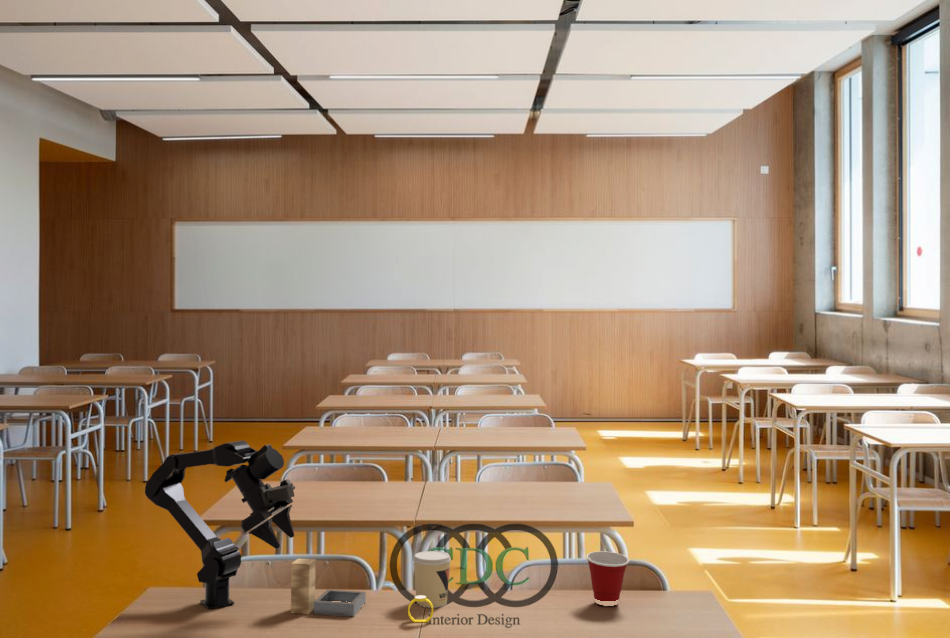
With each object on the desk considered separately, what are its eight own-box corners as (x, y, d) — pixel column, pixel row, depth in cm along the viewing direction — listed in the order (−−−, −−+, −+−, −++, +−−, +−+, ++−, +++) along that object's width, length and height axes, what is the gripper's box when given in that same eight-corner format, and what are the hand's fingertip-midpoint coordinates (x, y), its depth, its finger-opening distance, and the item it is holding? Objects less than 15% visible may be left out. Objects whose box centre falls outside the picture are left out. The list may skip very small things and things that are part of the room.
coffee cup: (445, 610, 214) (445, 561, 214) (408, 607, 216) (409, 558, 216) (453, 598, 223) (454, 551, 224) (418, 596, 225) (419, 549, 226)
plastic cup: (605, 613, 213) (605, 564, 214) (576, 601, 222) (577, 554, 223) (638, 606, 219) (638, 558, 219) (608, 594, 228) (609, 548, 229)
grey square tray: (313, 614, 210) (313, 601, 210) (327, 601, 220) (327, 589, 220) (353, 616, 209) (354, 604, 209) (365, 603, 218) (365, 591, 219)
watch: (408, 625, 204) (406, 599, 204) (408, 621, 207) (407, 595, 207) (433, 623, 205) (432, 597, 205) (433, 619, 207) (432, 594, 207)
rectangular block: (290, 613, 211) (291, 563, 211) (297, 607, 215) (298, 558, 215) (308, 614, 210) (309, 564, 210) (314, 608, 215) (315, 559, 215)
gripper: (262, 479, 204) (297, 536, 203) (292, 463, 222) (325, 515, 221) (225, 503, 205) (260, 560, 204) (258, 485, 224) (290, 537, 223)
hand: (285, 542), depth 213 cm, fingers open, 9 cm apart
